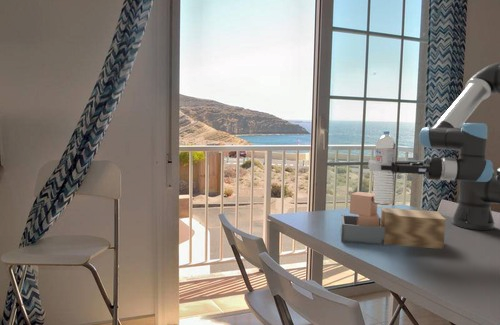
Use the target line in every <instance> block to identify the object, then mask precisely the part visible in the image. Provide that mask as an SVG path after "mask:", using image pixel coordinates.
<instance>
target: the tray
mask: <svg viewBox="0 0 500 325" xmlns="http://www.w3.org/2000/svg"><path fill="white" fill-rule="evenodd" d="M340 217H341V218H340V219H341V220H340V237H341V238H340V242H341V243H353V244H366V245H378V246H385V244H384V236H385V227H380V224H381V217H380V219H379V227H377V226H363V225H357V215H346V214H342V215H341V216H340Z"/></svg>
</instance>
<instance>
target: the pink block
mask: <svg viewBox="0 0 500 325" xmlns="http://www.w3.org/2000/svg"><path fill="white" fill-rule="evenodd" d="M356 216H357V225H363V226H377V227H379V219H380V218H381V216H380V215H379V214H378V212H377V213H376V214H374V215H372V216H364V215H357V214H356Z"/></svg>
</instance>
